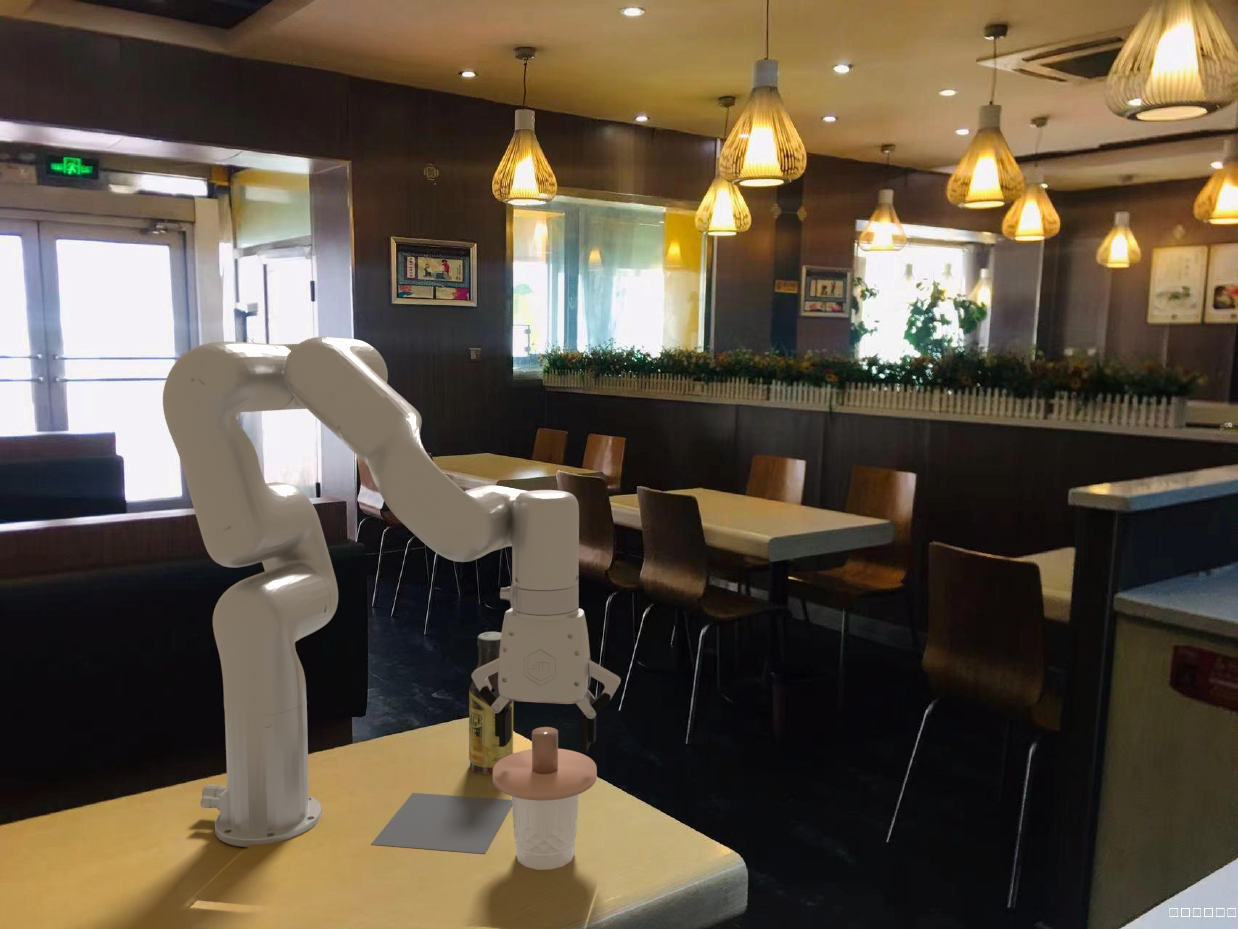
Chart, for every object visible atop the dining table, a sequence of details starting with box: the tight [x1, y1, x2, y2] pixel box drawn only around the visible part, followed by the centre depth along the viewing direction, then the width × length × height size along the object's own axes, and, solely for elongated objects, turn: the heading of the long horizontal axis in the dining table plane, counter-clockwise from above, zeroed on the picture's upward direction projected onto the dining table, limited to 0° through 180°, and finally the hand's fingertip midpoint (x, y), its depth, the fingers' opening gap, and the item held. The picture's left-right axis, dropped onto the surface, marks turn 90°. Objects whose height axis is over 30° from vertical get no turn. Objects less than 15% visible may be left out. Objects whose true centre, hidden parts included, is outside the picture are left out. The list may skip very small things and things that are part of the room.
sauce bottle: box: [468, 631, 514, 776], centre depth 134 cm, size 7×6×20 cm
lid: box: [492, 726, 598, 800], centre depth 109 cm, size 12×12×5 cm
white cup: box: [511, 794, 580, 871], centre depth 110 cm, size 8×8×10 cm
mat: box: [370, 792, 512, 855], centre depth 118 cm, size 14×14×1 cm
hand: (545, 745), depth 109 cm, fingers open, 9 cm apart
